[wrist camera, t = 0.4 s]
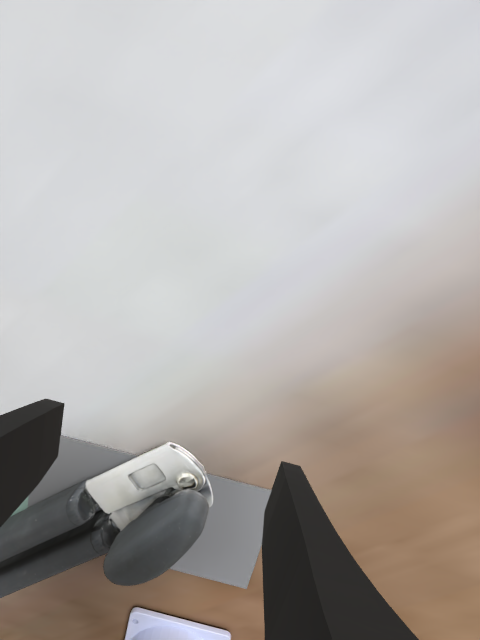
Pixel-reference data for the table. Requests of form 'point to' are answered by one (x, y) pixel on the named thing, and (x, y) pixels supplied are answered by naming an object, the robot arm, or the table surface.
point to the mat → (221, 524)
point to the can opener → (111, 522)
